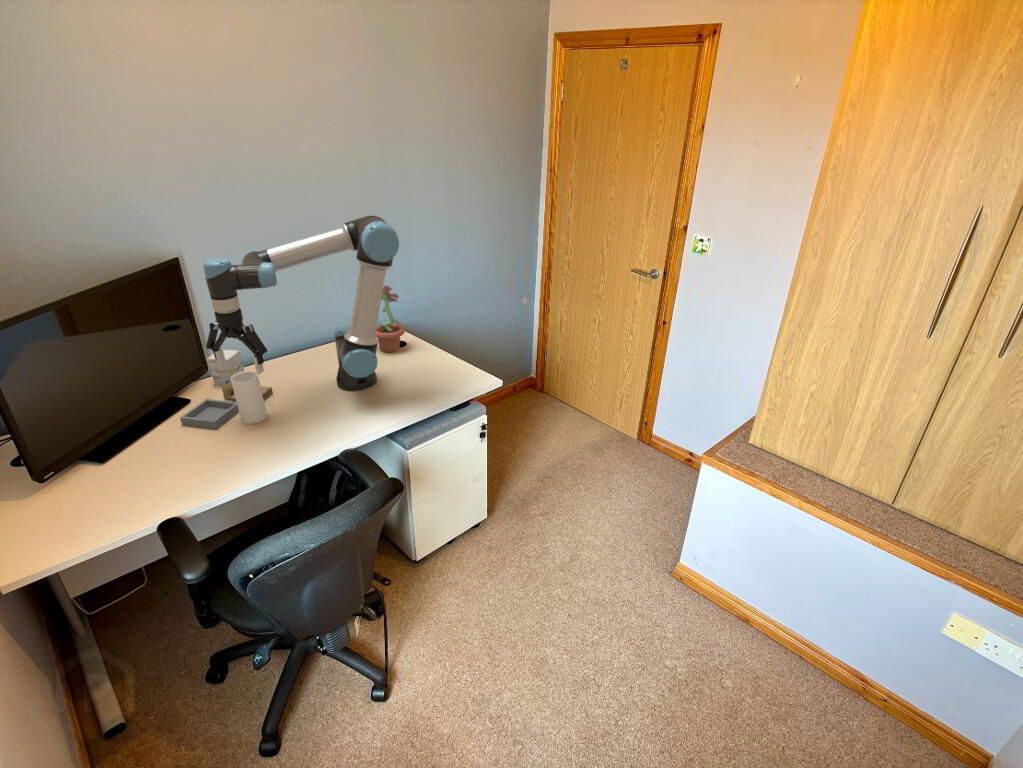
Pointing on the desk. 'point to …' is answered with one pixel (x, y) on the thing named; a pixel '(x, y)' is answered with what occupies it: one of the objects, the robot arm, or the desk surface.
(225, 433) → the desk surface
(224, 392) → the bench dog
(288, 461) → the desk surface
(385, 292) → the decorative flower
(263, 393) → the brown wooden square block
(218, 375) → the ink box
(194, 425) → the tray
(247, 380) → the cup
